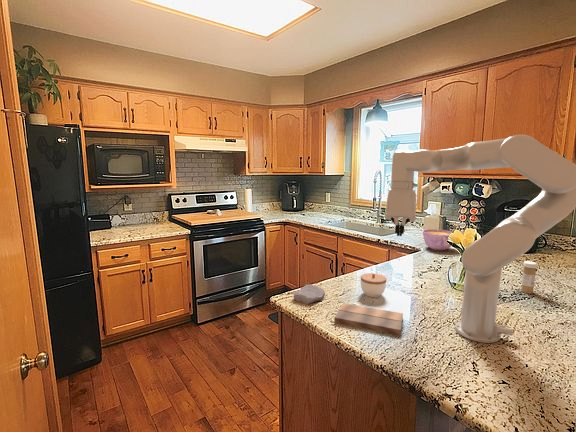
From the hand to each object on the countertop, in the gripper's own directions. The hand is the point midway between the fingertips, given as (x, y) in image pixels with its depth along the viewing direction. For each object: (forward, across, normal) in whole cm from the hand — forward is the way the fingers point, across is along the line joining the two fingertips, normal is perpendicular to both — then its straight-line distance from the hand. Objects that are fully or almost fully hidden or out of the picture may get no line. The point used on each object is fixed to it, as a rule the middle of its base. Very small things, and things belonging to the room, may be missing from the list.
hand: (399, 235), depth 115 cm
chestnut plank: (+29, +8, +10) cm, 32 cm away
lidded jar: (+29, +10, -11) cm, 33 cm away
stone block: (+30, +34, +3) cm, 45 cm away
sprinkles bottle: (+29, -52, -40) cm, 72 cm away
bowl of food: (+29, -20, -105) cm, 111 cm away
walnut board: (+29, +8, +16) cm, 34 cm away
